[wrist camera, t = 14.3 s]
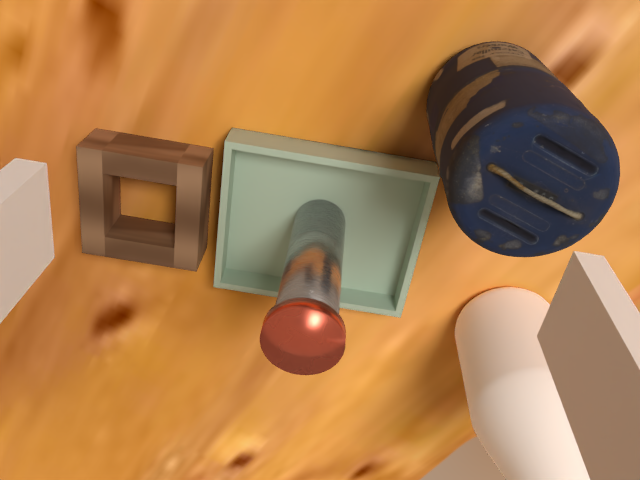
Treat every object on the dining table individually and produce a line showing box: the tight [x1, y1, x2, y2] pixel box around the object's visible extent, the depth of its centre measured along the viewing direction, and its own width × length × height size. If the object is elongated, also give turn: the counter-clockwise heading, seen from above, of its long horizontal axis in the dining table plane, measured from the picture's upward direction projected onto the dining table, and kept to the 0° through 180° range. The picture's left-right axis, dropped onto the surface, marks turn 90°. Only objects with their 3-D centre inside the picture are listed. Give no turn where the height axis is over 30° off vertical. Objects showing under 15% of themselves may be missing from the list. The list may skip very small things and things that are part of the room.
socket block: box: [76, 129, 214, 272], centre depth 52 cm, size 10×10×4 cm
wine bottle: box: [455, 287, 590, 480], centre depth 46 cm, size 10×10×30 cm
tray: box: [213, 128, 440, 318], centre depth 53 cm, size 14×17×3 cm
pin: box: [260, 199, 346, 375], centre depth 47 cm, size 6×6×16 cm
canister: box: [426, 42, 620, 257], centre depth 40 cm, size 10×10×18 cm
